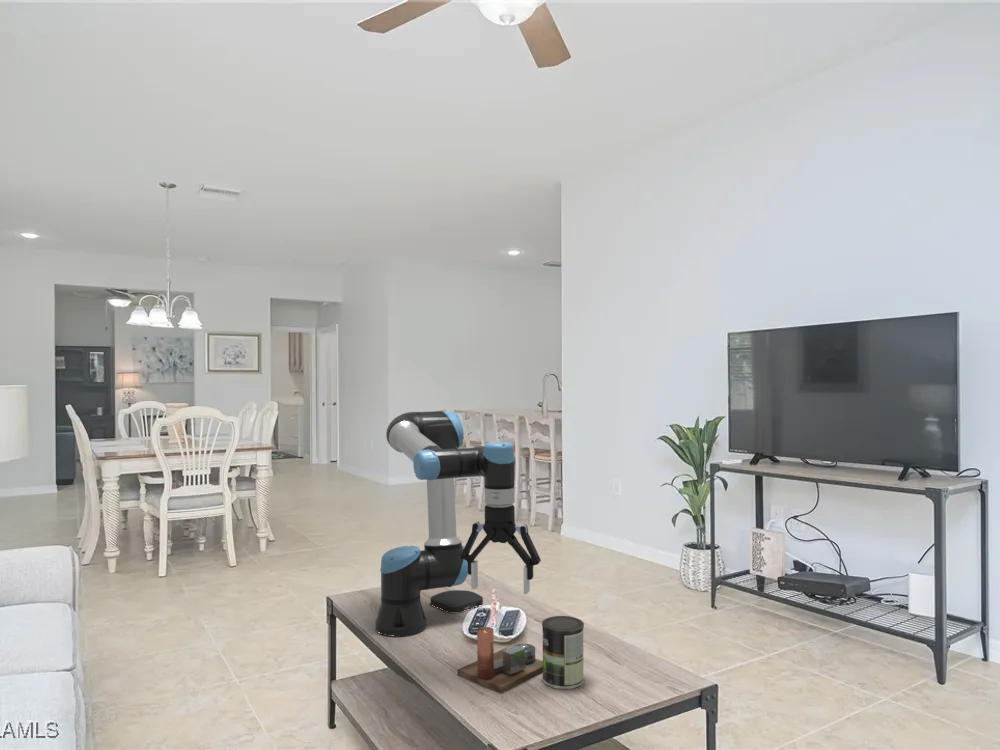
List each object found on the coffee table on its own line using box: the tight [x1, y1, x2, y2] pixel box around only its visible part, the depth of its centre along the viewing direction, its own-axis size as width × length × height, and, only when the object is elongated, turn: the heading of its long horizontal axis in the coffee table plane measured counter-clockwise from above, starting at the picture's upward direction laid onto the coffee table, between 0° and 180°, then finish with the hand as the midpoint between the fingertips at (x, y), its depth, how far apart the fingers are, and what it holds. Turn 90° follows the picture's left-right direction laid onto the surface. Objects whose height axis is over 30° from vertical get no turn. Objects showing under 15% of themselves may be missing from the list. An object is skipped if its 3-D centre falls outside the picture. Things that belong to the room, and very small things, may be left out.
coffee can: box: [541, 615, 585, 690], centre depth 166 cm, size 10×10×14 cm
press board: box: [456, 647, 543, 694], centre depth 171 cm, size 15×18×2 cm
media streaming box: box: [430, 589, 484, 613], centre depth 224 cm, size 15×15×3 cm
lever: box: [476, 626, 536, 679], centre depth 169 cm, size 18×7×11 cm, turn 132°
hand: (500, 590), depth 168 cm, fingers open, 13 cm apart
